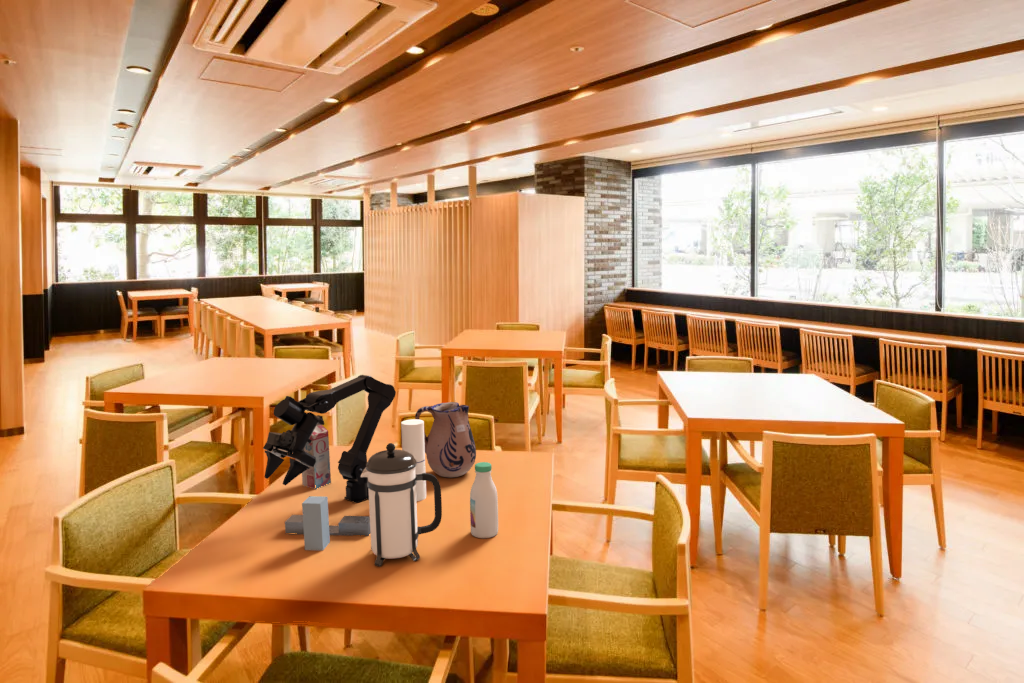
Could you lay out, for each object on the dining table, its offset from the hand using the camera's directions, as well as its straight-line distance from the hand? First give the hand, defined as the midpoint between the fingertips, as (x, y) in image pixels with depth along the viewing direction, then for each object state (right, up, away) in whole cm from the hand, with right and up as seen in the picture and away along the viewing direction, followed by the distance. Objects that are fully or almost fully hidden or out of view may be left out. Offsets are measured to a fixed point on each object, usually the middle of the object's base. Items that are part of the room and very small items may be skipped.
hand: (274, 481), depth 181 cm
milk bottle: (+60, -14, -3) cm, 62 cm away
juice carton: (0, -10, +38) cm, 39 cm away
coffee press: (+38, -16, -15) cm, 44 cm away
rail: (+16, -14, 0) cm, 21 cm away
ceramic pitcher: (+44, -8, +46) cm, 65 cm away
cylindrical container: (+36, -11, +25) cm, 45 cm away
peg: (+15, -15, -10) cm, 24 cm away
